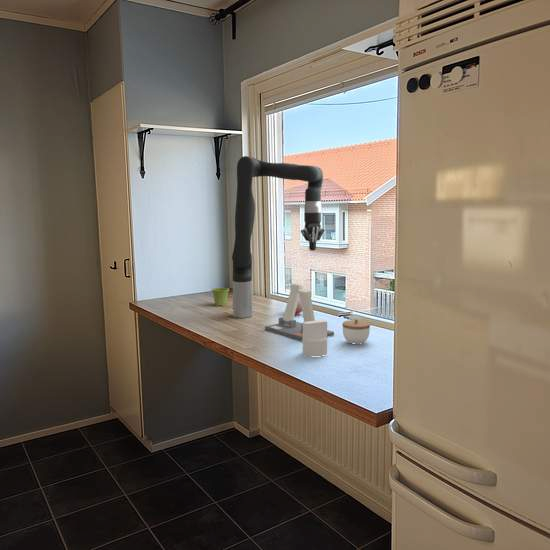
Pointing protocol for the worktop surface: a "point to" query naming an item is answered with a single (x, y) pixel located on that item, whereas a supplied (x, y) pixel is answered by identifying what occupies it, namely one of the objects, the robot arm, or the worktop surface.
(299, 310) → the decorative fruit
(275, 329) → the switch base
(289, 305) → the lever unmarked
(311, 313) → the lever marked
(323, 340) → the white rectangular block
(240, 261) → the robot arm
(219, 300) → the plant pot
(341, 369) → the worktop surface
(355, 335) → the lidded jar
